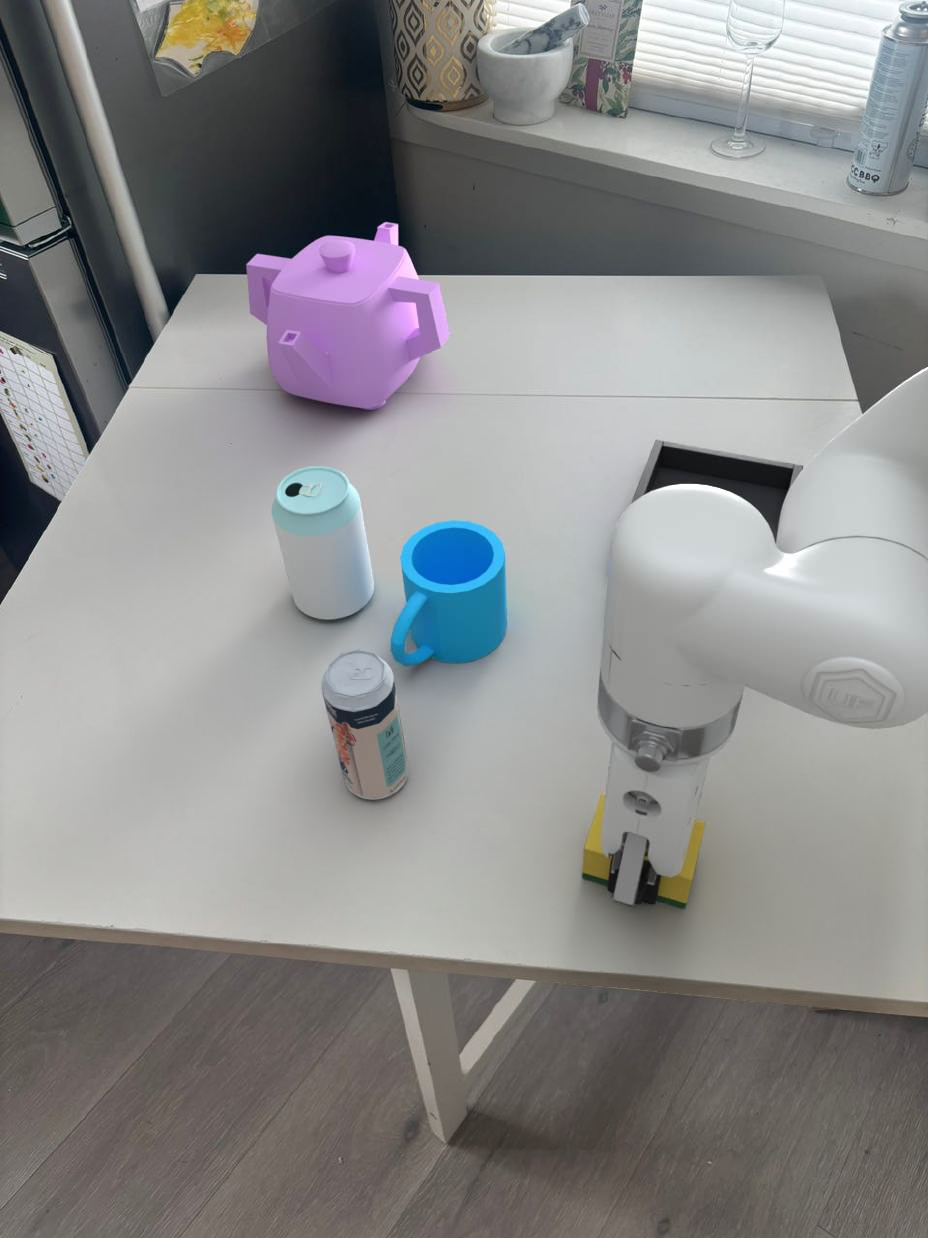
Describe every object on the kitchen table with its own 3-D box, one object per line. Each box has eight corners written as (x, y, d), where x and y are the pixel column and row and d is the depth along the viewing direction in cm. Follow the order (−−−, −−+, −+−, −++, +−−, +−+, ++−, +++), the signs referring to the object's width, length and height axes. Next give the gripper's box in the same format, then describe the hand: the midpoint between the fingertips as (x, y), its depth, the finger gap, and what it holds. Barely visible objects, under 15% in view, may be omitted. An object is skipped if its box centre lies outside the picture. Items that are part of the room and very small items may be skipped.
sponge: (698, 852, 68) (705, 822, 65) (684, 909, 65) (692, 880, 62) (598, 824, 70) (601, 793, 67) (581, 878, 67) (583, 848, 64)
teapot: (302, 449, 100) (275, 314, 89) (247, 362, 112) (217, 233, 101) (472, 394, 106) (465, 260, 95) (403, 316, 117) (390, 188, 106)
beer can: (348, 749, 75) (324, 644, 66) (411, 748, 75) (395, 644, 66) (341, 803, 72) (314, 701, 63) (406, 803, 72) (389, 701, 63)
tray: (797, 491, 92) (803, 465, 90) (769, 616, 82) (776, 590, 80) (652, 464, 96) (655, 439, 94) (609, 581, 86) (611, 555, 83)
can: (309, 635, 83) (283, 529, 74) (283, 583, 88) (255, 476, 79) (387, 607, 85) (370, 499, 76) (357, 556, 89) (338, 450, 80)
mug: (448, 578, 87) (442, 507, 81) (526, 616, 83) (525, 545, 77) (360, 665, 81) (346, 595, 75) (439, 710, 77) (432, 641, 71)
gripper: (708, 845, 47) (669, 997, 61) (763, 600, 58) (719, 776, 71) (556, 802, 49) (551, 958, 63) (636, 573, 60) (617, 749, 73)
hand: (641, 860), depth 67 cm, fingers closed on sponge, 4 cm apart
